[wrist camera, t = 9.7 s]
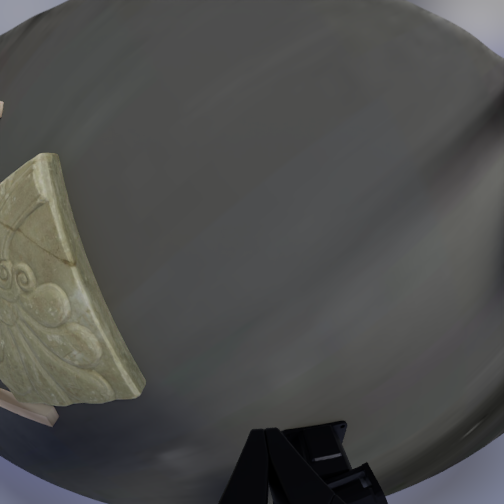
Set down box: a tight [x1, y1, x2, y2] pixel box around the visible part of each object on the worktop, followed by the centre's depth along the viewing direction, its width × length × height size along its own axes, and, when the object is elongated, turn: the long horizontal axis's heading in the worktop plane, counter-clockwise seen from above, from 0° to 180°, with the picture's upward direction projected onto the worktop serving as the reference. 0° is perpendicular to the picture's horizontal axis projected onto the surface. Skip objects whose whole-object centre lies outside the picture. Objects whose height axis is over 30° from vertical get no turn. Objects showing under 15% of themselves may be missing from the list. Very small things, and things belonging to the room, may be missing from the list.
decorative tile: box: [0, 153, 146, 406], centre depth 17 cm, size 19×20×4 cm
